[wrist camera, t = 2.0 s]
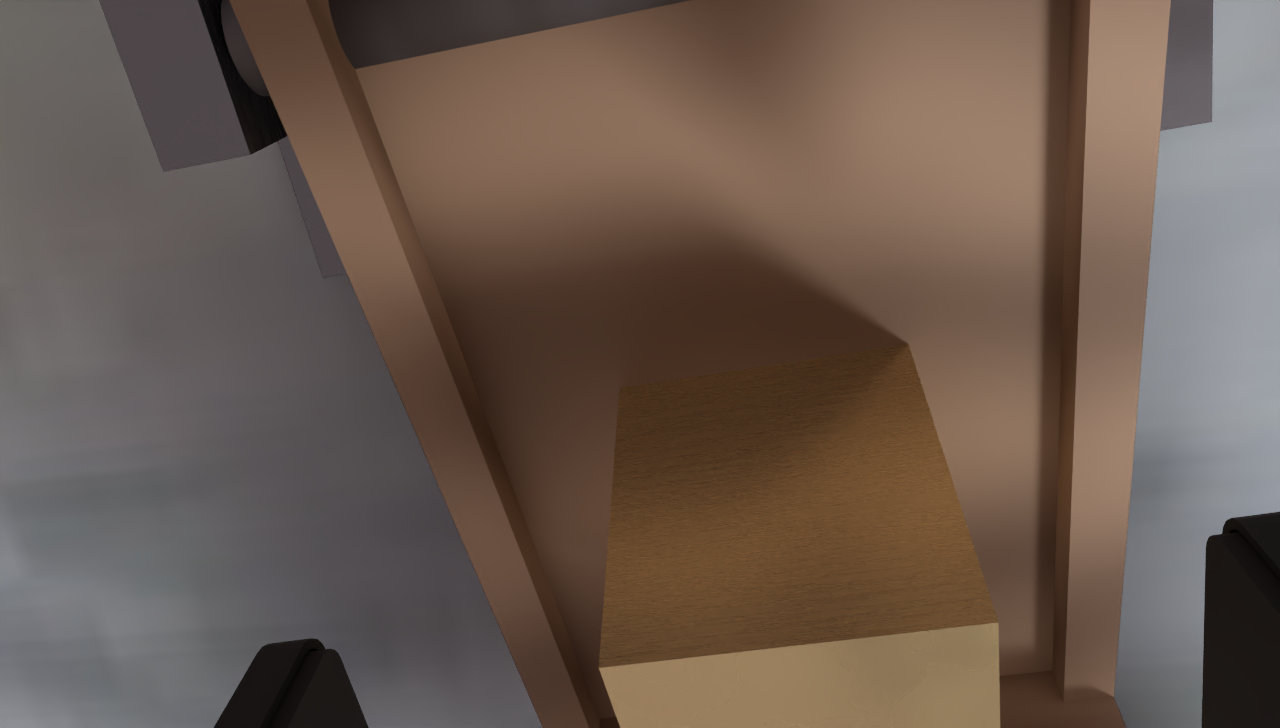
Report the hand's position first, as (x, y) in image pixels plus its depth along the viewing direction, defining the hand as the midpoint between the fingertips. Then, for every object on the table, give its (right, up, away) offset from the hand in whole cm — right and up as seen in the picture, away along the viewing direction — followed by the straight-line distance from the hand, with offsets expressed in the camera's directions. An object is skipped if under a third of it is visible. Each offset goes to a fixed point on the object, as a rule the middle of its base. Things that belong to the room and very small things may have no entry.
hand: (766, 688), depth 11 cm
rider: (+1, +1, +8) cm, 8 cm away
